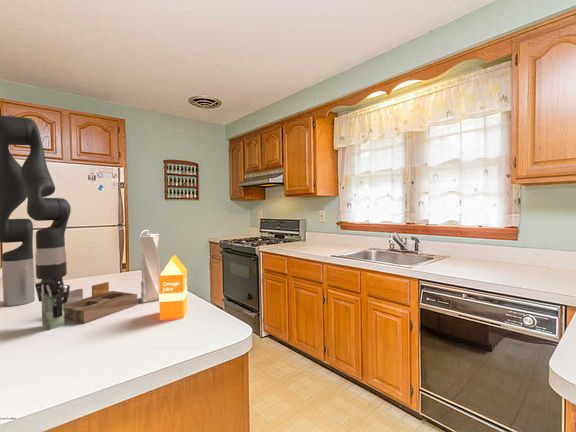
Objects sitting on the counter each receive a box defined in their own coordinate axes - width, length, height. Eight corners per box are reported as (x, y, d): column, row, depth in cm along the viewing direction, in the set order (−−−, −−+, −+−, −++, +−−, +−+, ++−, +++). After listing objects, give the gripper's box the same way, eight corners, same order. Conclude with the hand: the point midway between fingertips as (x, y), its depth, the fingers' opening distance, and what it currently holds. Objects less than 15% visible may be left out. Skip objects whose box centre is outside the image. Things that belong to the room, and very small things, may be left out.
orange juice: (159, 320, 98) (157, 259, 98) (164, 311, 107) (163, 255, 106) (184, 318, 100) (183, 258, 99) (187, 309, 108) (186, 254, 108)
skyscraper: (137, 298, 122) (135, 230, 121) (158, 295, 127) (156, 229, 126) (141, 303, 115) (140, 231, 115) (163, 299, 120) (162, 230, 119)
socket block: (57, 317, 101) (56, 294, 101) (112, 300, 120) (111, 280, 120) (84, 323, 96) (83, 298, 96) (137, 304, 114) (137, 283, 114)
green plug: (42, 327, 93) (41, 295, 93) (56, 323, 97) (55, 292, 96) (50, 329, 91) (49, 297, 91) (64, 324, 95) (63, 293, 95)
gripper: (23, 262, 93) (25, 317, 93) (51, 265, 87) (54, 323, 88) (50, 258, 100) (52, 309, 100) (78, 261, 94) (80, 315, 95)
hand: (53, 316), depth 94 cm, fingers closed on green plug, 4 cm apart
